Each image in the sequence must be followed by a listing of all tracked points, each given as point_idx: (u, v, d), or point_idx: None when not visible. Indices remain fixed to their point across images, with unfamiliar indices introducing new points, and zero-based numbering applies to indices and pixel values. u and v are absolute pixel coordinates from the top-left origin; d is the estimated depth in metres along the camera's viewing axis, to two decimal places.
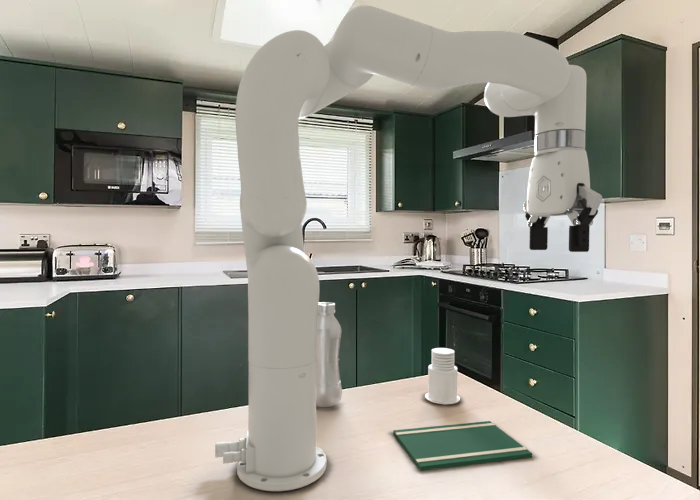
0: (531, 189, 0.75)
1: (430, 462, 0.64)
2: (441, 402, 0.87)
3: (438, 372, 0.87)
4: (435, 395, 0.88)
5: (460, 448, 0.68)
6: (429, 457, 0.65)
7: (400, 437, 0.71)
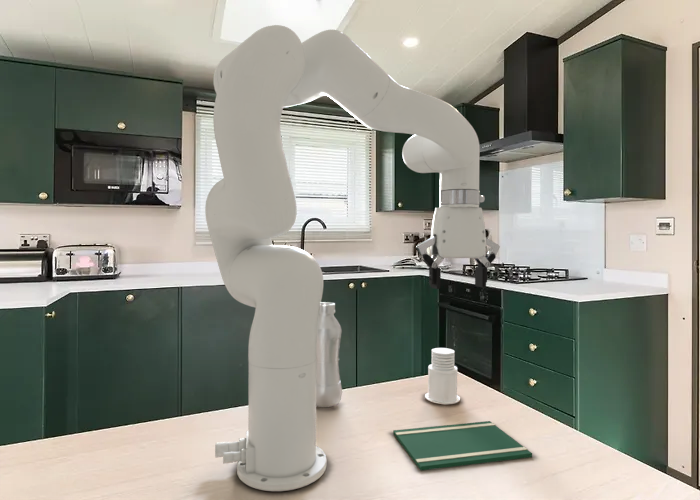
0: None
1: (430, 462, 0.64)
2: (441, 402, 0.87)
3: (438, 372, 0.87)
4: (435, 395, 0.88)
5: (460, 448, 0.68)
6: (429, 457, 0.65)
7: (400, 437, 0.71)
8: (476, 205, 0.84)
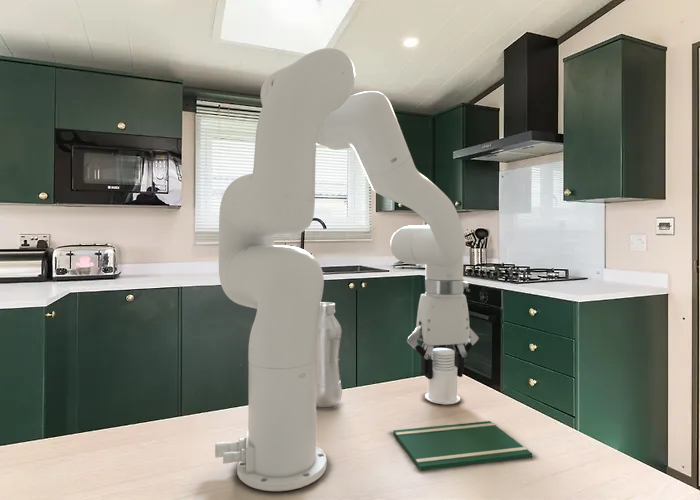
0: None
1: (430, 462, 0.64)
2: (441, 402, 0.87)
3: (438, 372, 0.87)
4: (435, 395, 0.88)
5: (460, 448, 0.68)
6: (429, 457, 0.65)
7: (400, 437, 0.71)
8: (460, 295, 0.87)
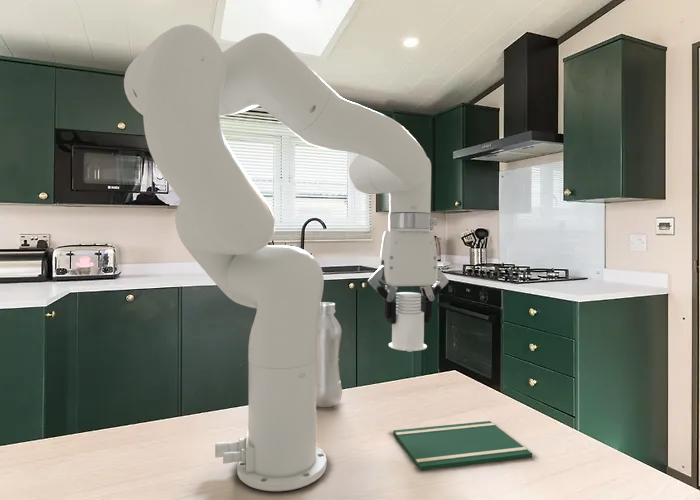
0: None
1: (430, 462, 0.64)
2: (405, 349, 0.78)
3: (402, 315, 0.78)
4: (399, 342, 0.79)
5: (460, 448, 0.68)
6: (429, 457, 0.65)
7: (400, 437, 0.71)
8: (426, 229, 0.78)
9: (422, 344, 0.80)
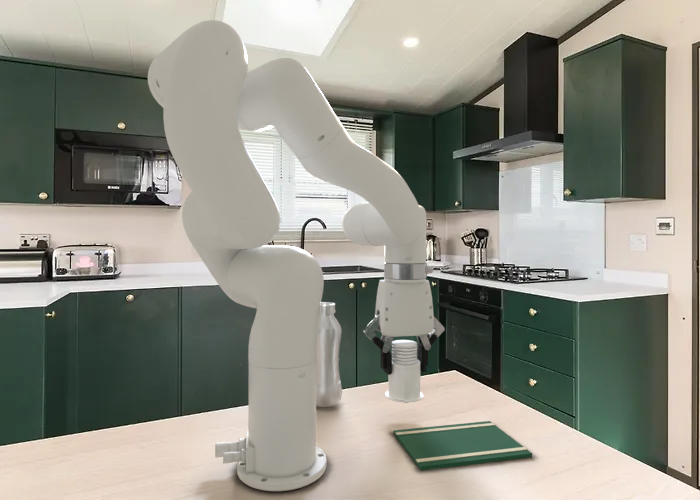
0: None
1: (430, 462, 0.64)
2: (401, 400, 0.78)
3: (398, 366, 0.78)
4: (395, 393, 0.78)
5: (460, 448, 0.68)
6: (429, 457, 0.65)
7: (400, 437, 0.71)
8: (422, 280, 0.78)
9: (418, 394, 0.79)
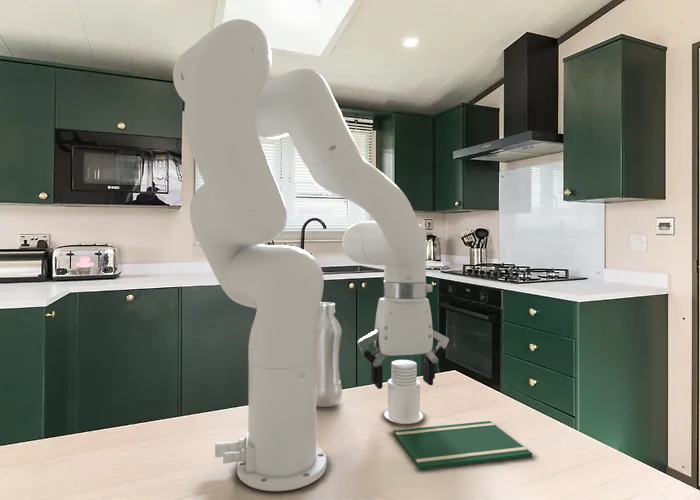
0: None
1: (430, 462, 0.64)
2: (401, 421, 0.78)
3: (398, 387, 0.78)
4: (394, 414, 0.79)
5: (460, 448, 0.68)
6: (429, 457, 0.65)
7: (400, 437, 0.71)
8: (421, 299, 0.78)
9: (418, 415, 0.79)
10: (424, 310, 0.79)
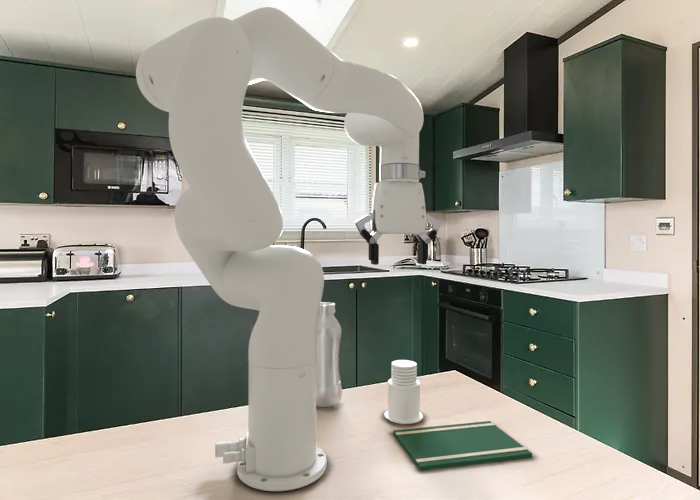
0: None
1: (430, 462, 0.64)
2: (401, 421, 0.78)
3: (398, 387, 0.78)
4: (394, 414, 0.79)
5: (460, 448, 0.68)
6: (429, 457, 0.65)
7: (400, 437, 0.71)
8: (414, 180, 0.83)
9: (418, 415, 0.79)
10: (417, 191, 0.84)
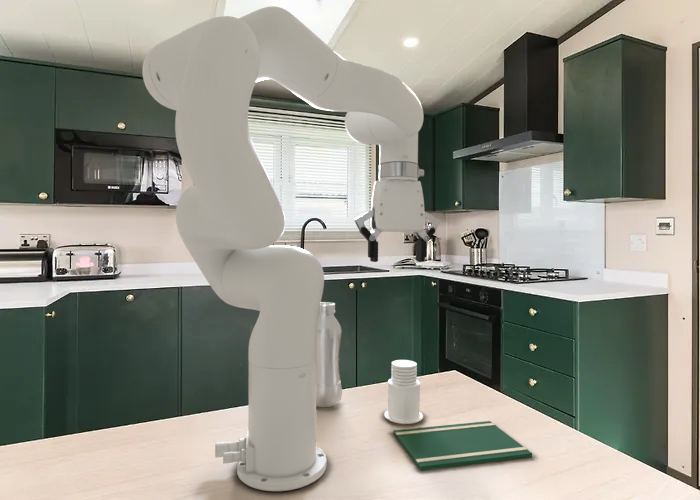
0: None
1: (430, 462, 0.64)
2: (401, 421, 0.78)
3: (398, 387, 0.78)
4: (394, 414, 0.79)
5: (460, 448, 0.68)
6: (429, 457, 0.65)
7: (400, 437, 0.71)
8: (413, 178, 0.84)
9: (418, 415, 0.79)
10: (416, 190, 0.85)
